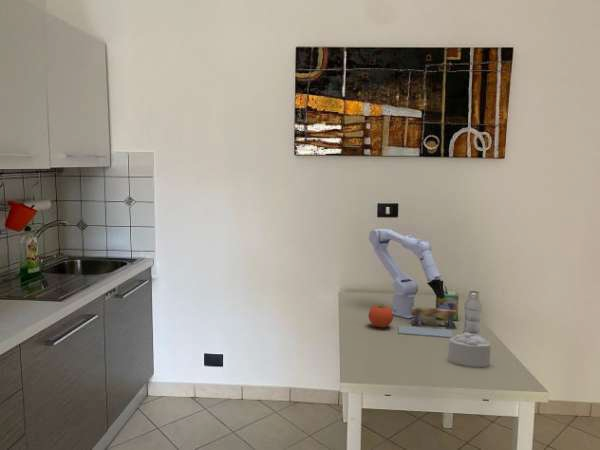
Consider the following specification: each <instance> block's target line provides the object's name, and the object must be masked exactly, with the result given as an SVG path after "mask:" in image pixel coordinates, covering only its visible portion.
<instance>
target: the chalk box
mask: <svg viewBox="0 0 600 450" xmlns="http://www.w3.org/2000/svg"><path fill="white" fill-rule="evenodd" d="M443 287H444V294H445V297H444V298H442V299H440V298H438V297H437V296H436V295H435V308H436V309H450V310H456V319H453V321H456V322H458V321H459V294H458V292H456V291H450V290H448V289H447V286H446V284H443ZM435 318H436V320H439V321H441V320H442V321H448V318H439V317H435Z"/></svg>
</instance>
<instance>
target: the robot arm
mask: <svg viewBox="0 0 600 450" xmlns="http://www.w3.org/2000/svg"><path fill="white" fill-rule="evenodd" d="M368 235H369V236H368V240H369V242H370V243H371V244H372V247H373V250H374V253H375V254H376V256H377V257H378V258H379V260H380V261H381V263H382V265H383V266H384V268H385V269H386V271H387V272H388V273H389V275H390V276H391V278H392V279H393V280H394V281H393V284H392V286H393V288H394V291H395V294H394V295H393V297H392V302H391V311H392V313H393V316H397V317H401V318H406V319H411V318H414V316H412V307H415V297H416V294H417V293H418V291H419V285H418V283H417V282H416V281H415V280H414V279H412V278H411V276H408V274H407V275H406V273H404V271H403V270H402V269H401V267H400V266H399V265H398V263H397V262H396V260H395V259H394V257H393V256H392V255H391V253H390V251H389V250H388V247H389V245H390V243H391V240H392V241H393V242H396V243H398V244H399V243H400V244H401V247H402V248H404V249H406V250H409V251H410V252H412V253H413V254H414V255H415V256H416V257H417V259H418V261H419V264H420V265H421V268H422V271H423V273H424V275H425V278H426V282H427V283H426V284H427V285H428V286H429V287H430V288H431V289H432V291H433V293H434V294H435V297H436V296H437V297H438V298H440V299H442V298H444V297H445V294H444V291H445V288H444V280H441V277H443V276H444V274H443V273H440V272H439V270H438V266H437V264H436V262H435V260H434V257H433V254H432V252H431V251H432V245H431V243H430V242H428V241H427V240H424V241H421V239H420V238H414V237H413V235H410V234H408V235H405V236H404V235H402V234H400V233H397V232H396V231H394V230H392V229H390V228H387V227H385V228H372V229H371V230H370V231H369V234H368Z"/></svg>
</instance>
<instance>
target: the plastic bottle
mask: <svg viewBox="0 0 600 450" xmlns="http://www.w3.org/2000/svg"><path fill="white" fill-rule="evenodd" d="M479 298H480V292H479V291H476V290H469V291H468V299H466V301H465V303H464V306H463V307H464V326H463V332H462V334H463V333H469V334H471V336H475V335H479V336H481V330H480V324H481V323H480V322H481V314H482V310H483V309H482V308H483V304H482V303H481V301H480V299H479Z"/></svg>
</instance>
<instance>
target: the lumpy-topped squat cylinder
mask: <svg viewBox="0 0 600 450" xmlns="http://www.w3.org/2000/svg"><path fill="white" fill-rule="evenodd" d="M448 339H449V340H448V352H447V353H448V355H447V358H448V359H447V360H448V361H449V362H450V363H453V364H457V365H460V366H465V367H471V368H472V367H473V368H474V367H479V368H482V367H483V368H484V367H489V366H490V359H491V356H490V355H491V343H490V342H488V341H487V339H486V338H484V337H482V335H480V336H479V335H475V336H471V334H469V333H463V332H462V334H456V335H455V336H453V337H452V338H448Z"/></svg>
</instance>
